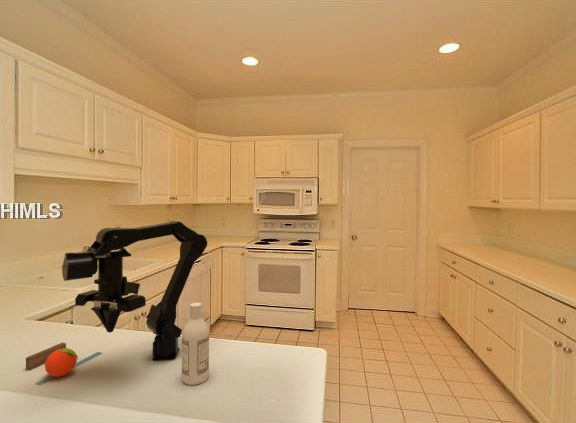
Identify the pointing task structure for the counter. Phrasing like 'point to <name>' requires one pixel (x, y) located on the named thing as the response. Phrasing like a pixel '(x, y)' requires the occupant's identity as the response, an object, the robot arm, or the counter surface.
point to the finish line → (74, 367)
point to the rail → (41, 357)
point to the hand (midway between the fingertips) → (110, 331)
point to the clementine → (61, 362)
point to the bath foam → (195, 348)
